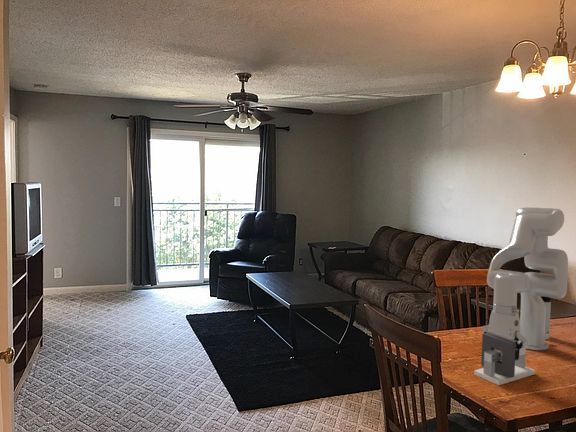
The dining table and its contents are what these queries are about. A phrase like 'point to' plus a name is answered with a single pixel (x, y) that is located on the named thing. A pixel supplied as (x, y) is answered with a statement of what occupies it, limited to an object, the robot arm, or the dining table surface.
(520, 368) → the stand
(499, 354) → the grey square bar
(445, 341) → the dining table surface
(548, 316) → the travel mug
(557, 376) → the dining table surface
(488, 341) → the collar
